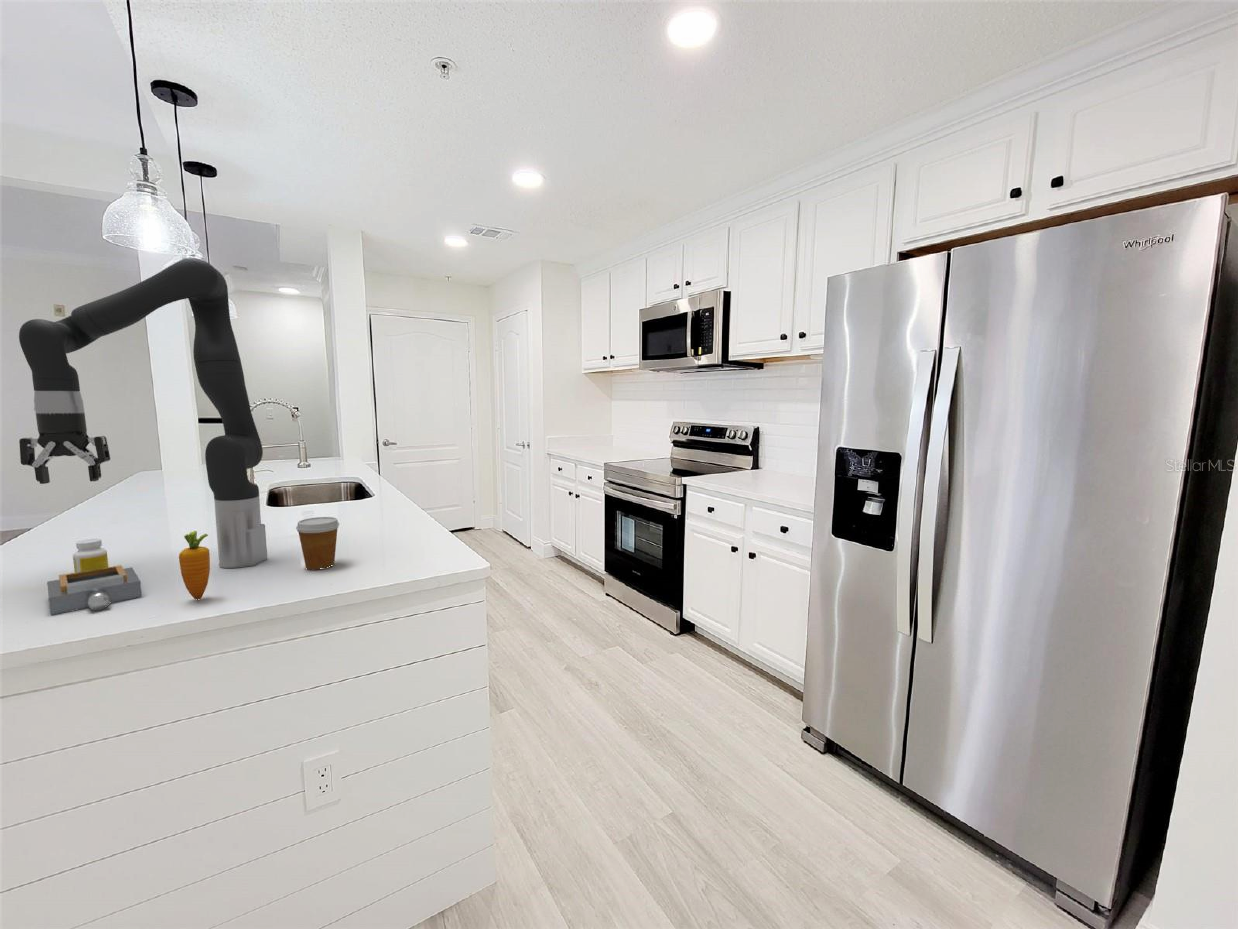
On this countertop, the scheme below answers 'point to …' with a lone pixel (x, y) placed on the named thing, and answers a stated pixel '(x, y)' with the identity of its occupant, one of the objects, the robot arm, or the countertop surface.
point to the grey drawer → (92, 589)
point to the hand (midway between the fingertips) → (69, 482)
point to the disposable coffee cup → (318, 541)
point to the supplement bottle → (89, 555)
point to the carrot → (195, 565)
